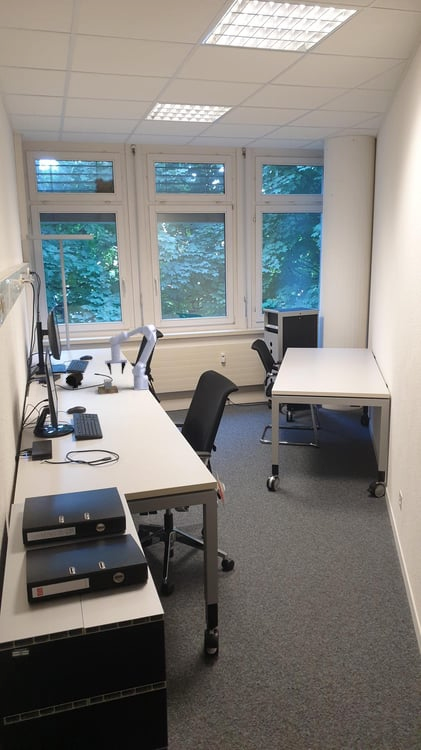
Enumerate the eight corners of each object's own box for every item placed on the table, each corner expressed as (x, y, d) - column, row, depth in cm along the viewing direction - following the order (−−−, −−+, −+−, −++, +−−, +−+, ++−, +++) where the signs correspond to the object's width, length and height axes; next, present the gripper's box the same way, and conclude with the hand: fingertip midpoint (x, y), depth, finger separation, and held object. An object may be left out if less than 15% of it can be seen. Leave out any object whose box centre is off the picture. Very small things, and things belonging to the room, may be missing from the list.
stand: (116, 388, 366) (116, 385, 365) (118, 392, 354) (118, 389, 354) (98, 390, 363) (98, 386, 362) (99, 394, 351) (99, 390, 351)
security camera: (85, 384, 379) (84, 370, 377) (76, 390, 361) (75, 376, 359) (75, 384, 380) (74, 370, 378) (66, 390, 362) (65, 376, 360)
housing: (111, 389, 354) (111, 381, 353) (104, 389, 353) (104, 381, 352) (110, 386, 363) (110, 378, 361) (104, 386, 361) (103, 379, 360)
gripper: (125, 352, 371) (126, 372, 373) (104, 353, 367) (105, 373, 370) (127, 354, 364) (127, 374, 367) (105, 355, 360) (106, 375, 363)
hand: (116, 373), depth 368 cm, fingers open, 7 cm apart
